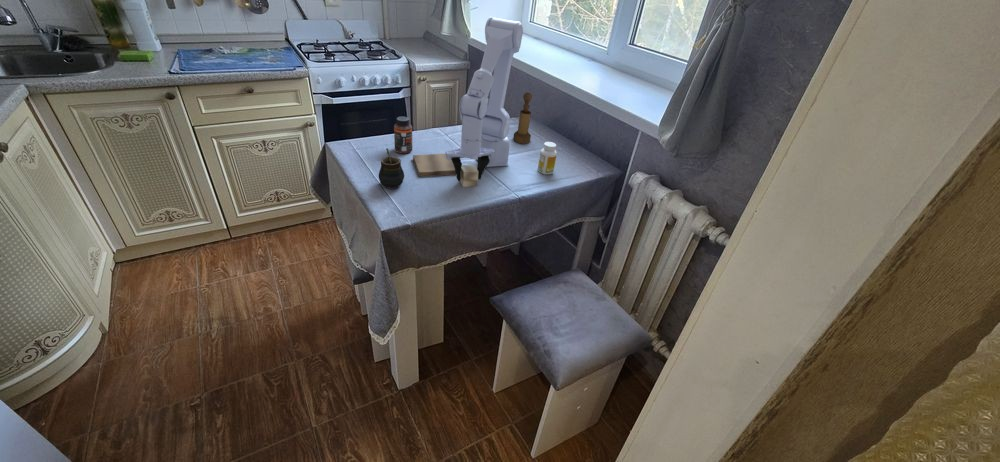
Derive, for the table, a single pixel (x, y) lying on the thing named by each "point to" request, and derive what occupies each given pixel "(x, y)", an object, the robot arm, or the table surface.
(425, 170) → the light brown wooden block
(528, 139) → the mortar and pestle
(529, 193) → the table surface
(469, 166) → the maple cube
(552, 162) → the supplement bottle
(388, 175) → the mate gourd
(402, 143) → the supplement bottle
